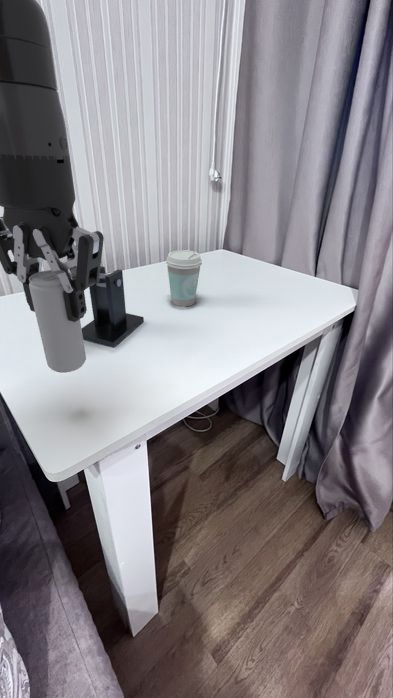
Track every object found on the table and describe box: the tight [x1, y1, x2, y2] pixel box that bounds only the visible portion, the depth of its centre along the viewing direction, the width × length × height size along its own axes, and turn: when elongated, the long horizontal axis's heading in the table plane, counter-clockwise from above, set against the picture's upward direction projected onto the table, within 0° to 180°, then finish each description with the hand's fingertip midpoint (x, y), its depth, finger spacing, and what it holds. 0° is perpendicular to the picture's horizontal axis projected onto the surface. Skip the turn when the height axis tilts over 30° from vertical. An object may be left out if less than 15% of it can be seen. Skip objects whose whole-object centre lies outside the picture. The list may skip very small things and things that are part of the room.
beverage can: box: [29, 269, 87, 374], centre depth 41 cm, size 5×5×12 cm
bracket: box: [81, 265, 145, 348], centre depth 67 cm, size 12×9×13 cm
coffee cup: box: [165, 249, 203, 307], centre depth 80 cm, size 8×8×12 cm
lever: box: [72, 272, 110, 287], centre depth 60 cm, size 12×5×2 cm, turn 159°
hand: (58, 313), depth 40 cm, fingers closed on beverage can, 5 cm apart
